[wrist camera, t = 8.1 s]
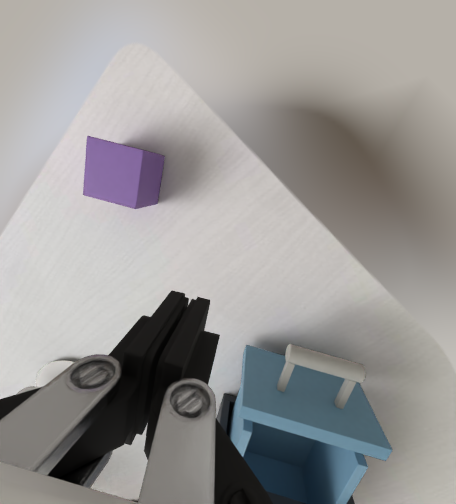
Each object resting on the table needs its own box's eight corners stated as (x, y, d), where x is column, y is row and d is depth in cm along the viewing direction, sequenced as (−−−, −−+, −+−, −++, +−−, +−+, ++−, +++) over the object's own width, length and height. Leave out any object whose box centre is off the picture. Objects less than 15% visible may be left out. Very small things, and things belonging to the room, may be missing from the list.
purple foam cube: (118, 144, 22) (86, 135, 18) (165, 156, 22) (143, 150, 18) (113, 192, 24) (82, 195, 20) (157, 204, 24) (135, 209, 19)
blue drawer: (257, 308, 24) (257, 359, 17) (372, 340, 24) (420, 406, 17) (216, 437, 30) (204, 516, 23) (310, 465, 29) (327, 555, 22)
